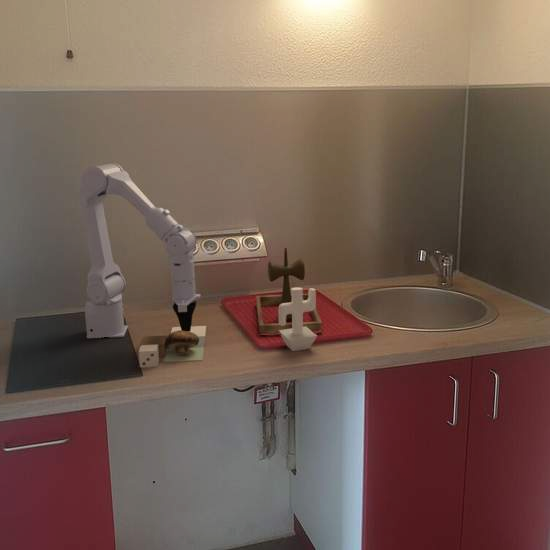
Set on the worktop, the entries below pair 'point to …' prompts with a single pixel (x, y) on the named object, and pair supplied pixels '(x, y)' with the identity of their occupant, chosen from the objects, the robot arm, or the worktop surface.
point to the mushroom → (181, 341)
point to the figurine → (297, 320)
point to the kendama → (286, 277)
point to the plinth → (155, 343)
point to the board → (194, 352)
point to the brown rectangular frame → (275, 328)
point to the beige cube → (148, 356)
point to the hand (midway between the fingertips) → (186, 330)
